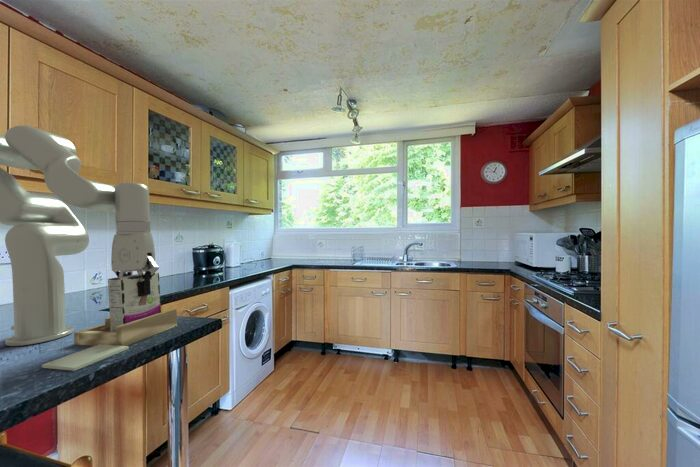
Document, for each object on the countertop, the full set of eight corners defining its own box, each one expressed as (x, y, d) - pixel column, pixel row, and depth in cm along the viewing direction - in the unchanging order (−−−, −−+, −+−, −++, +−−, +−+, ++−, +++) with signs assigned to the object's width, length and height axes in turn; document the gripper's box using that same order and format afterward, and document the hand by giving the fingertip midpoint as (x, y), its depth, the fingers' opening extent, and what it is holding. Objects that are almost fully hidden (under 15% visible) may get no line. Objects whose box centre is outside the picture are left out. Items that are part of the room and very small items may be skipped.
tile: (41, 367, 59) (41, 364, 59) (99, 346, 70) (99, 344, 70) (74, 370, 57) (74, 367, 57) (128, 348, 68) (128, 346, 68)
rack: (74, 344, 72) (73, 324, 72) (135, 324, 88) (135, 308, 88) (122, 347, 69) (121, 326, 69) (177, 325, 84) (176, 309, 84)
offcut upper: (105, 328, 76) (104, 318, 76) (121, 321, 82) (121, 312, 82) (119, 327, 76) (119, 317, 76) (134, 320, 82) (134, 311, 82)
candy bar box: (147, 327, 84) (146, 272, 84) (162, 328, 83) (160, 271, 83) (108, 342, 73) (106, 278, 73) (124, 343, 72) (122, 278, 72)
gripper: (94, 229, 76) (96, 298, 76) (146, 227, 72) (148, 299, 72) (122, 230, 83) (124, 292, 83) (171, 227, 79) (173, 292, 79)
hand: (135, 294), depth 78 cm, fingers closed on candy bar box, 4 cm apart
